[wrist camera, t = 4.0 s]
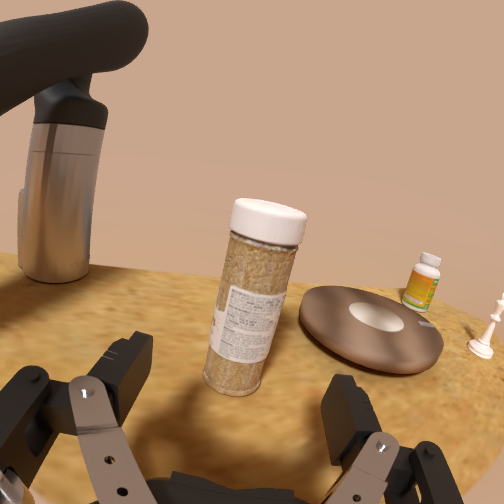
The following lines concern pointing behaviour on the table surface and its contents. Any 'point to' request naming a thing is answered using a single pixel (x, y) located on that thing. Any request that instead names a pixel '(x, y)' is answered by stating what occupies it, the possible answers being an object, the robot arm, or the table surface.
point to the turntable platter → (370, 329)
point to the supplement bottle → (422, 283)
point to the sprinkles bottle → (251, 293)
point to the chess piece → (487, 334)
